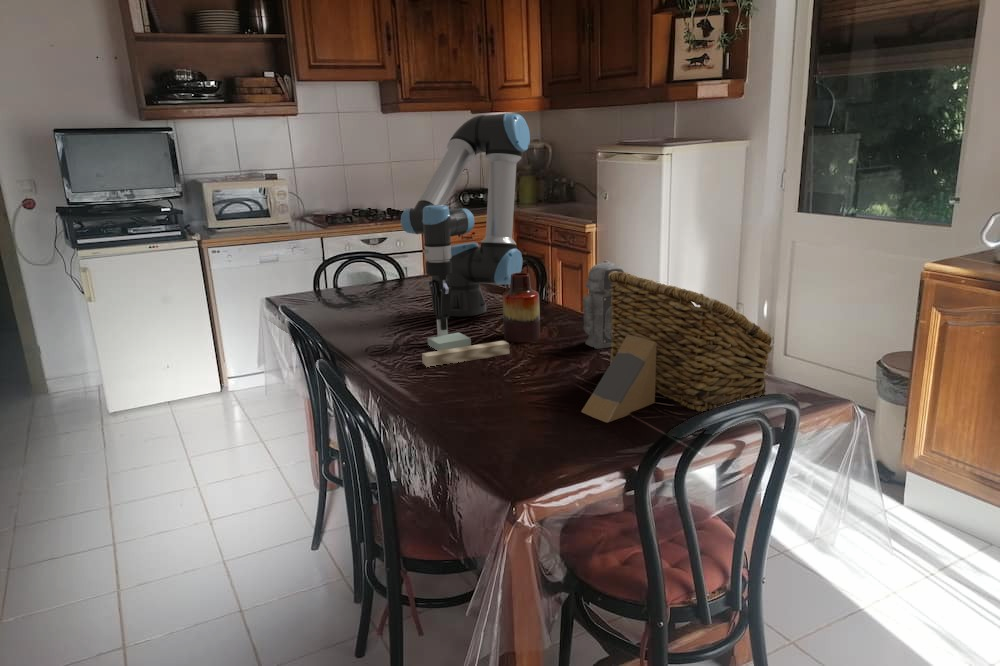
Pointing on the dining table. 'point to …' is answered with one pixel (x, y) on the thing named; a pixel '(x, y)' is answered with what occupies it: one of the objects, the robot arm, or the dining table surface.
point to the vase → (521, 310)
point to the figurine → (599, 305)
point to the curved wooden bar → (465, 353)
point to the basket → (691, 342)
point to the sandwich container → (625, 381)
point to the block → (449, 341)
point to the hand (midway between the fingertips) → (443, 339)
